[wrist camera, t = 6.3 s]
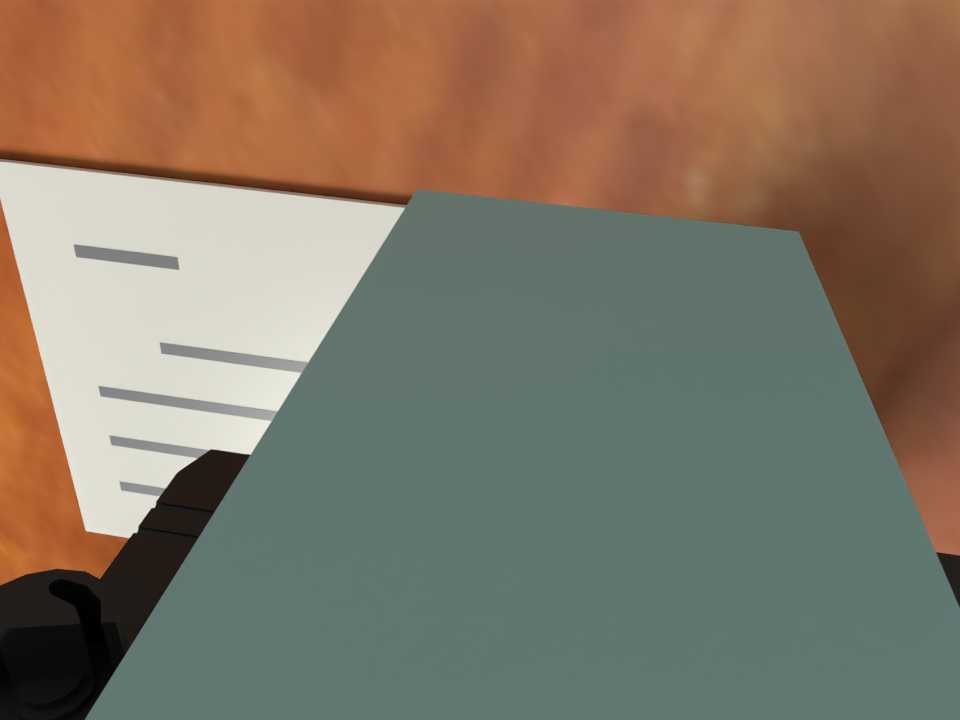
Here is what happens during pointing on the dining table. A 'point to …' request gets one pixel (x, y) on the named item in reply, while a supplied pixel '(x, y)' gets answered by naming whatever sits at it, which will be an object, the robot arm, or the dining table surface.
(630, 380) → the block
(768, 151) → the dining table surface
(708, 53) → the dining table surface
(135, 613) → the robot arm
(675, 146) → the dining table surface
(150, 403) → the letter
